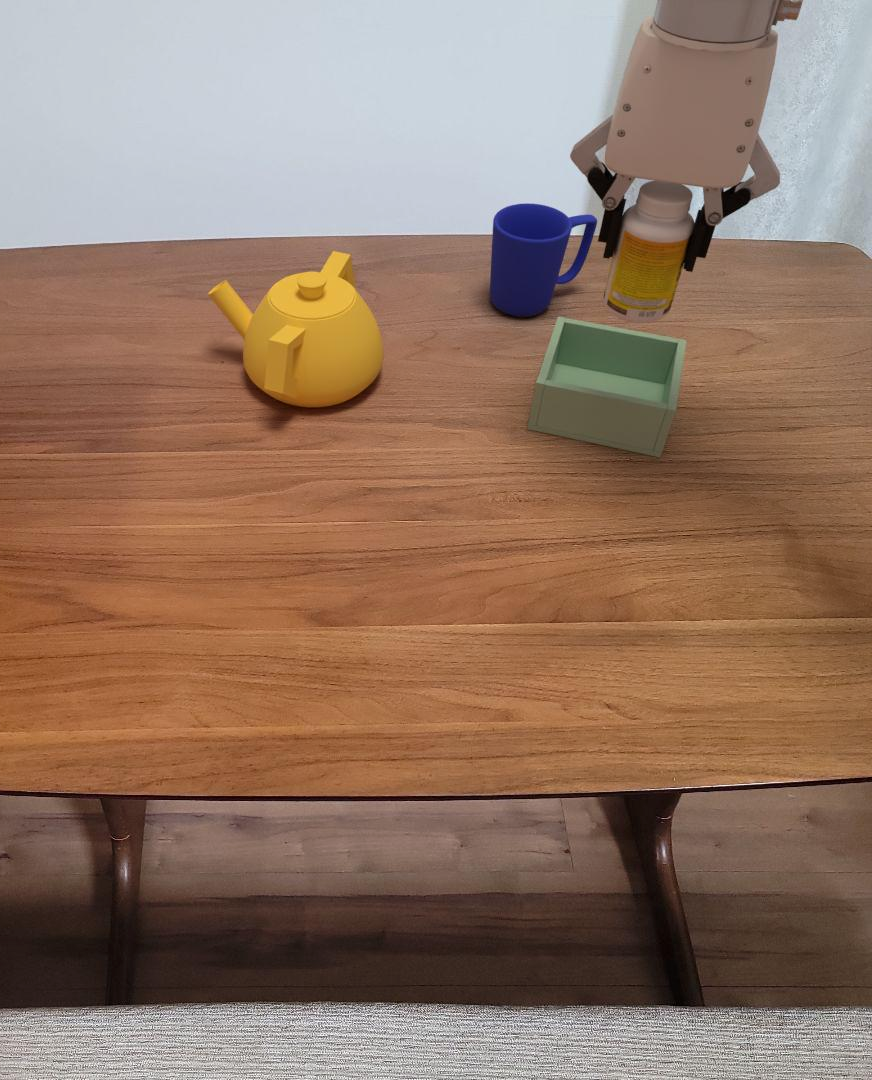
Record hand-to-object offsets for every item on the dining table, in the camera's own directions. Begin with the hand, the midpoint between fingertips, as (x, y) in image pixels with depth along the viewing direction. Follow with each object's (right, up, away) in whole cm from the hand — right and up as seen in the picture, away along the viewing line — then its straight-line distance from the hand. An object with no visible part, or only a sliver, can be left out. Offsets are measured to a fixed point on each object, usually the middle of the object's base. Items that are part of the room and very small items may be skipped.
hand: (649, 254), depth 74 cm
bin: (+1, -10, +17) cm, 20 cm away
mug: (-3, +4, +31) cm, 31 cm away
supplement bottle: (0, -4, +4) cm, 5 cm away
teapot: (-29, -5, +22) cm, 37 cm away
